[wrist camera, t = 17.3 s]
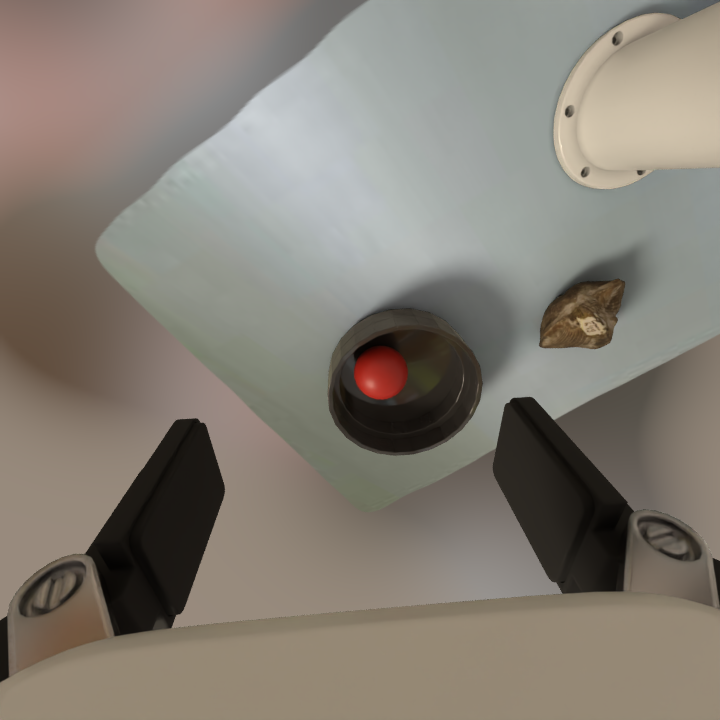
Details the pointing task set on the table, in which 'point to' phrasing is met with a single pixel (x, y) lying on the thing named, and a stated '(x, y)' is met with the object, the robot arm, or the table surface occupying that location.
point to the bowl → (422, 389)
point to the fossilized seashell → (582, 316)
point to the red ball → (380, 372)
